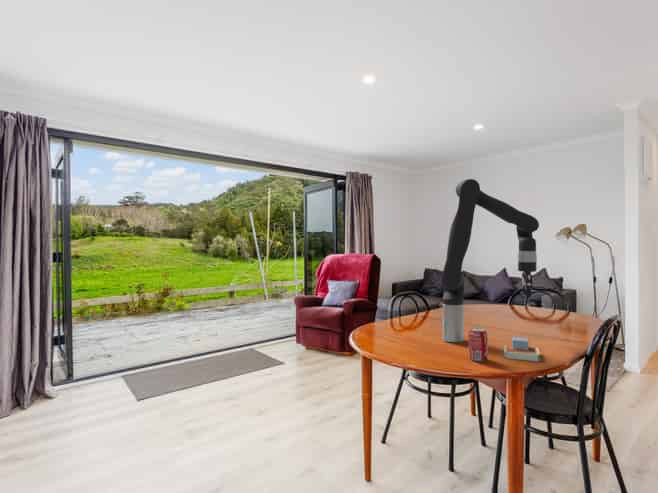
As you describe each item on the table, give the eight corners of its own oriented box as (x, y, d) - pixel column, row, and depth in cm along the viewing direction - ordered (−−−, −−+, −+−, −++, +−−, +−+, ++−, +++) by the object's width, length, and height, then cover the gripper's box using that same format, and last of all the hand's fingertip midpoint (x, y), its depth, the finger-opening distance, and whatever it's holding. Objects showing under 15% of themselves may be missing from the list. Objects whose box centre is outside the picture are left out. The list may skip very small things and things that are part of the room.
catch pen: (504, 358, 151) (504, 351, 151) (504, 350, 161) (504, 344, 161) (540, 361, 146) (540, 355, 145) (538, 353, 155) (537, 347, 155)
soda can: (483, 356, 153) (482, 326, 153) (491, 362, 146) (490, 331, 146) (465, 357, 153) (465, 327, 153) (473, 362, 146) (472, 331, 146)
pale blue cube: (512, 349, 163) (512, 340, 163) (512, 346, 168) (511, 337, 168) (528, 350, 160) (528, 341, 160) (527, 347, 166) (527, 338, 166)
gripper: (539, 262, 166) (538, 299, 166) (534, 260, 179) (533, 294, 179) (519, 261, 168) (519, 298, 169) (516, 259, 182) (516, 293, 182)
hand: (526, 296), depth 174 cm, fingers open, 8 cm apart
